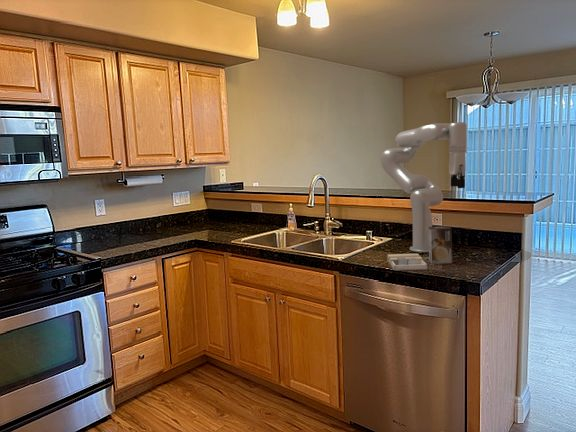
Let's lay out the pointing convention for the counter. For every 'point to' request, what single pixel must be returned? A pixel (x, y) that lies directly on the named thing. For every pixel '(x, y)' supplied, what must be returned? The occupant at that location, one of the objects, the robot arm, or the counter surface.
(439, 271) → the counter surface
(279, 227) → the counter surface
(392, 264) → the tray
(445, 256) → the coffee box
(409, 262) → the offcut
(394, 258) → the platform
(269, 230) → the counter surface
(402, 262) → the offcut
